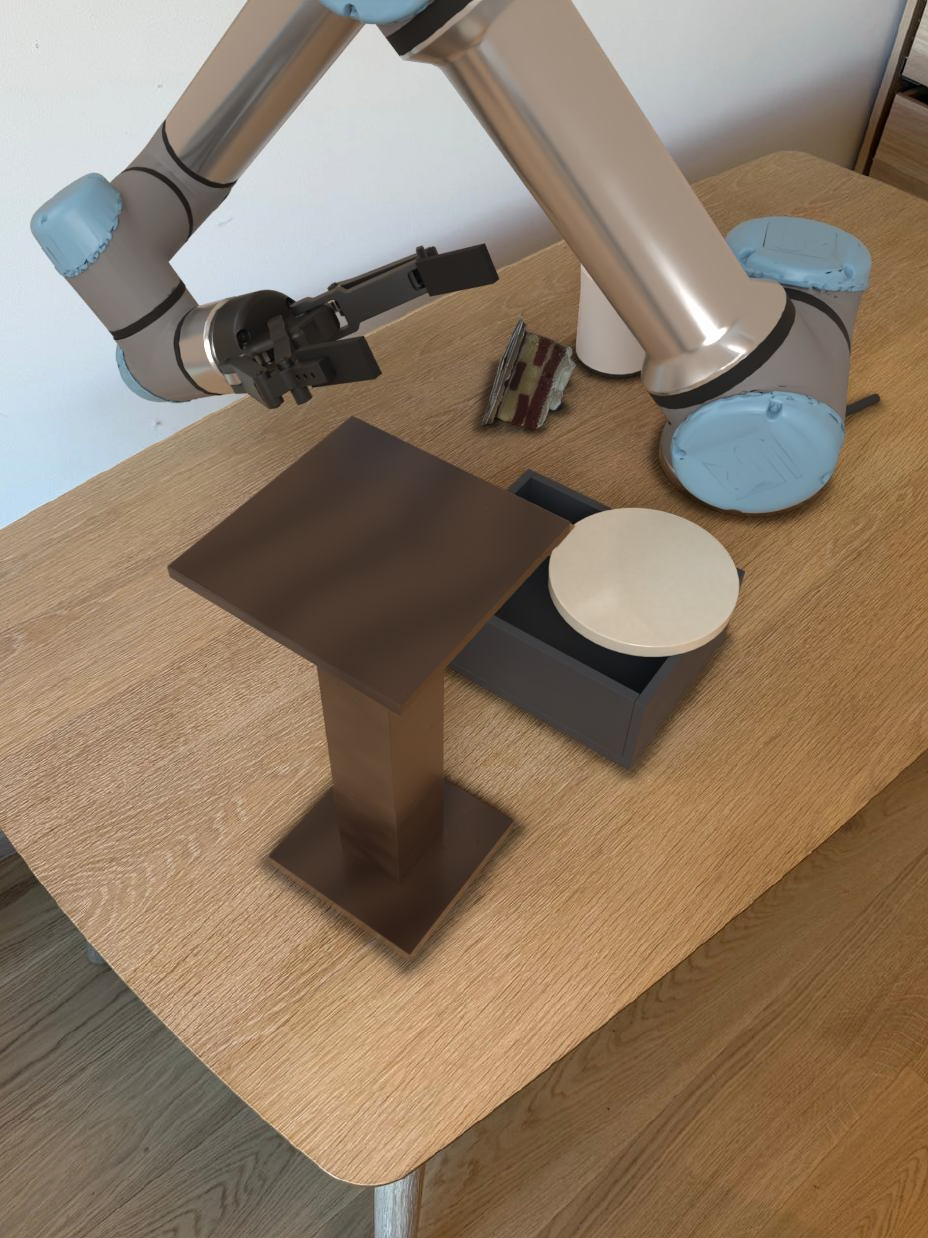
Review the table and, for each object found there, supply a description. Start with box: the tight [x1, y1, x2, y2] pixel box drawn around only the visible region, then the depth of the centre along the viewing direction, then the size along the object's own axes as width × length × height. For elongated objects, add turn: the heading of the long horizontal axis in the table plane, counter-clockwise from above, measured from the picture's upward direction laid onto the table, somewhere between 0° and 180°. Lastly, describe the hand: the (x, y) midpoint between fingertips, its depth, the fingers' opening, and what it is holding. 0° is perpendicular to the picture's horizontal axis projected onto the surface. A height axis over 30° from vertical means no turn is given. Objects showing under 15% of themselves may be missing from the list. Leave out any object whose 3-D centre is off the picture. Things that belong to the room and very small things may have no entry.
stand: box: [166, 415, 570, 963], centre depth 65 cm, size 14×14×30 cm
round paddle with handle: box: [548, 507, 740, 657], centre depth 83 cm, size 23×14×1 cm, turn 56°
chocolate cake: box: [481, 309, 576, 431], centre depth 108 cm, size 10×7×12 cm
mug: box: [575, 263, 645, 379], centre depth 110 cm, size 11×9×10 cm
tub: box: [446, 468, 746, 771], centre depth 85 cm, size 20×16×8 cm
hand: (432, 307), depth 74 cm, fingers open, 13 cm apart
